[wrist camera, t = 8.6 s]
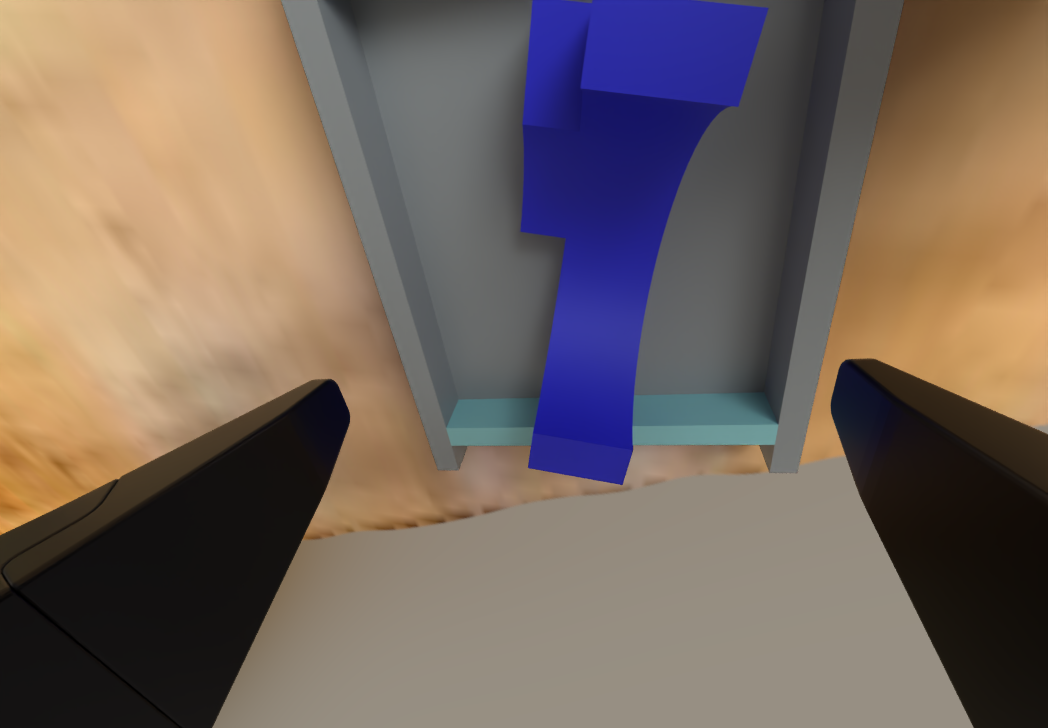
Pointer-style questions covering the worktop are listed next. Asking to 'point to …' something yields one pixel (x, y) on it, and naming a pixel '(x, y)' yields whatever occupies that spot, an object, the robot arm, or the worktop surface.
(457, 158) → the tray
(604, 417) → the cable clip
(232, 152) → the worktop surface
